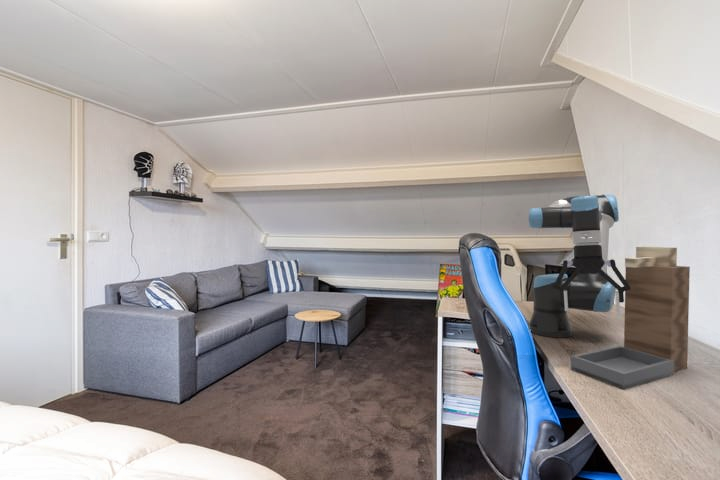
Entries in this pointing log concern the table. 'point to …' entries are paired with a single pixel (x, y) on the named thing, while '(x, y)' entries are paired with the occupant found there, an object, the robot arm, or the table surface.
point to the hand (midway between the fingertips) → (591, 311)
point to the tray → (622, 366)
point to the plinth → (658, 312)
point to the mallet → (653, 257)
